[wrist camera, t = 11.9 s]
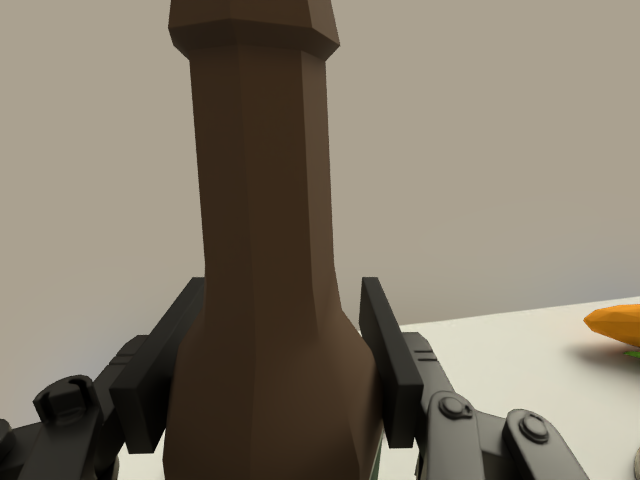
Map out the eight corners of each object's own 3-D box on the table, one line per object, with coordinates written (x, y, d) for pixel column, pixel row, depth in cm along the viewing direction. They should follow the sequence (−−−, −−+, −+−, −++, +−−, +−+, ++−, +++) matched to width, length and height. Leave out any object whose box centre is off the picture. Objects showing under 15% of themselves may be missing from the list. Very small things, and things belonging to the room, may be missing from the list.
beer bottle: (358, 492, 19) (396, 37, 10) (376, 726, 11) (572, -190, 3) (234, 487, 19) (166, 37, 10) (174, 714, 12) (-235, -175, 3)
